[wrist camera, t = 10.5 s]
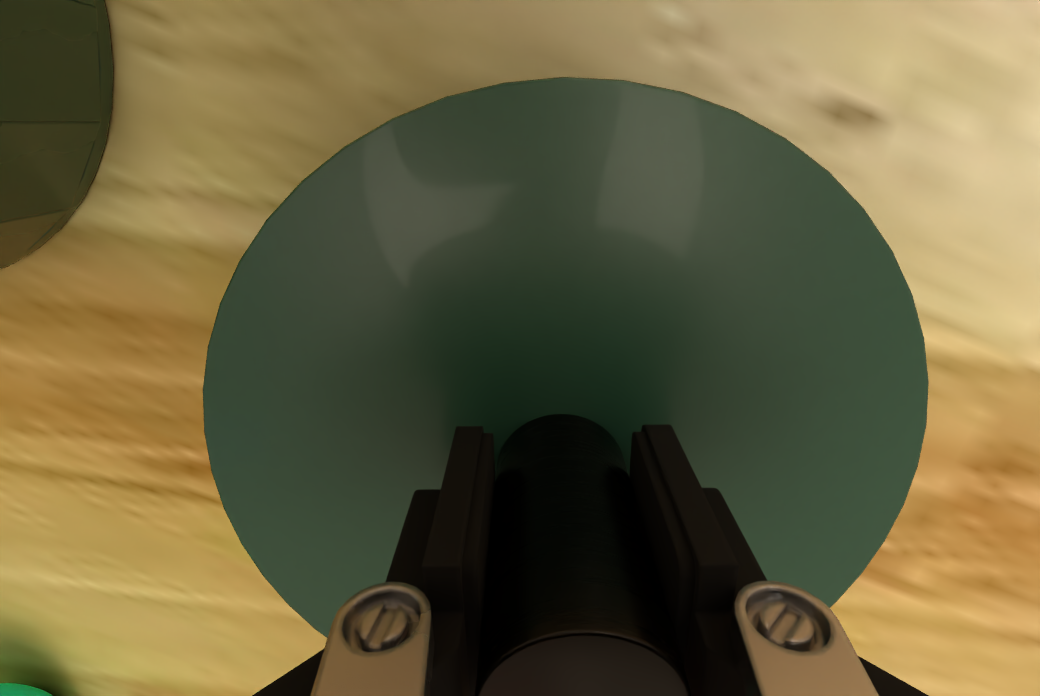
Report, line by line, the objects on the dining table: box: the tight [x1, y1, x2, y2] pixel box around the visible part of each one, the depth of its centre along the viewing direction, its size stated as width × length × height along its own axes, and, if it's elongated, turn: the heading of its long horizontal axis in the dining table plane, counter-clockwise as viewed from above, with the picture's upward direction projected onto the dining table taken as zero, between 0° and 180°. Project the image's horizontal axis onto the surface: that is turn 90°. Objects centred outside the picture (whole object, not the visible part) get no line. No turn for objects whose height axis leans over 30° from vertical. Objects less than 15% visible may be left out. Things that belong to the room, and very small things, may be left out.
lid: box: [203, 77, 928, 696], centre depth 10 cm, size 16×16×7 cm
